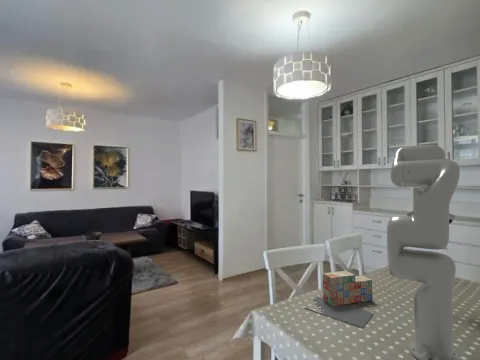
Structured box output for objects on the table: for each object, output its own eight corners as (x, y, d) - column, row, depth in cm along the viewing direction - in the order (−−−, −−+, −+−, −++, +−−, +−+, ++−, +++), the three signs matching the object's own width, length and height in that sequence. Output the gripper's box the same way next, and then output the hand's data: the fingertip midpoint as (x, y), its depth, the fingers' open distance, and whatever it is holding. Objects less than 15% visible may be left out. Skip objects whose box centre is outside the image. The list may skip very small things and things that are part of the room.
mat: (362, 328, 96) (362, 327, 96) (303, 308, 112) (303, 307, 112) (373, 313, 106) (373, 313, 106) (317, 297, 122) (317, 296, 122)
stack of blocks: (362, 295, 124) (362, 268, 124) (372, 300, 118) (372, 273, 118) (322, 300, 118) (322, 272, 119) (331, 306, 112) (331, 277, 112)
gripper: (406, 194, 118) (407, 233, 118) (456, 195, 109) (457, 236, 109) (406, 194, 124) (406, 230, 124) (453, 194, 115) (453, 233, 115)
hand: (430, 233), depth 116 cm, fingers open, 9 cm apart
